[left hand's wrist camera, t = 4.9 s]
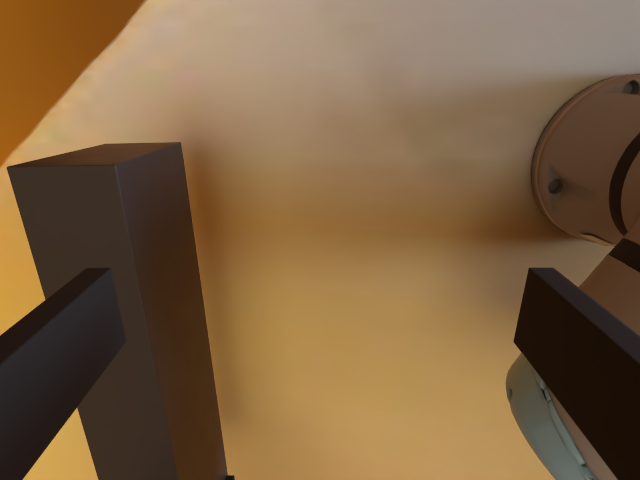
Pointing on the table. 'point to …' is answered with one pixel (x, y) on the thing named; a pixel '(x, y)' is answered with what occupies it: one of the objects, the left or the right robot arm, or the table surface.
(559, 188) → the left robot arm
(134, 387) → the bar
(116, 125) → the table surface
